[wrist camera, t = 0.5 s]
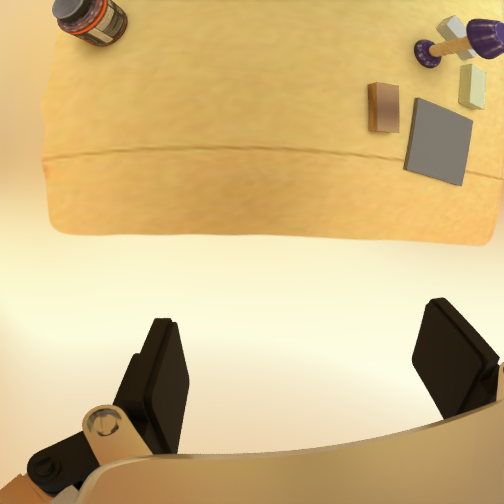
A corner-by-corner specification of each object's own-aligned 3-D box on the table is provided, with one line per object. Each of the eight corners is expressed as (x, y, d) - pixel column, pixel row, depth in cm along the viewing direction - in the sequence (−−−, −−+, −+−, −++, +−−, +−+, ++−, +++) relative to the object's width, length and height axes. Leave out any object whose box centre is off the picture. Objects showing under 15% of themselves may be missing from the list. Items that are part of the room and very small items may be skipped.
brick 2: (435, 28, 30) (446, 24, 27) (444, 19, 29) (455, 14, 26) (461, 60, 32) (473, 57, 29) (469, 50, 31) (481, 47, 28)
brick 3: (460, 66, 32) (472, 63, 29) (474, 73, 32) (486, 72, 29) (457, 102, 34) (469, 102, 31) (471, 109, 34) (484, 109, 31)
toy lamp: (437, 76, 33) (520, 64, 17) (409, 63, 32) (489, 41, 17) (439, 47, 31) (518, 26, 15) (412, 34, 31) (487, 2, 15)
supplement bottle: (80, 36, 30) (35, 15, 19) (108, 2, 28) (70, -29, 18) (108, 54, 31) (64, 34, 21) (137, 19, 30) (103, -12, 19)
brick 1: (367, 85, 34) (376, 82, 31) (388, 87, 34) (398, 85, 31) (368, 130, 36) (377, 130, 33) (389, 132, 36) (399, 132, 33)
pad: (414, 98, 34) (418, 97, 33) (468, 120, 35) (472, 120, 34) (403, 168, 38) (406, 169, 37) (457, 185, 38) (461, 186, 37)
